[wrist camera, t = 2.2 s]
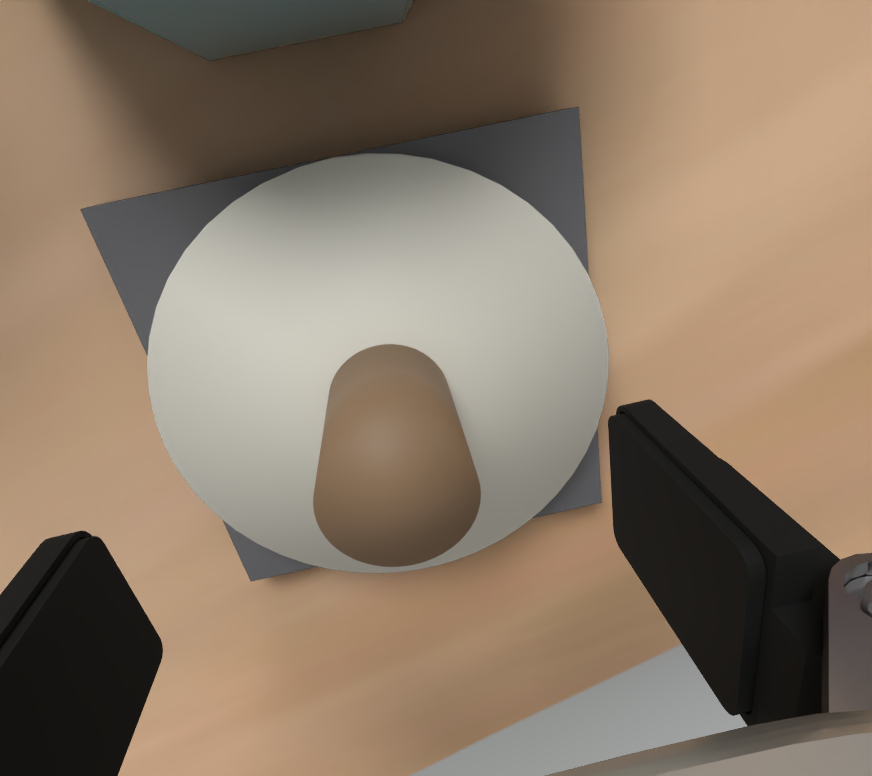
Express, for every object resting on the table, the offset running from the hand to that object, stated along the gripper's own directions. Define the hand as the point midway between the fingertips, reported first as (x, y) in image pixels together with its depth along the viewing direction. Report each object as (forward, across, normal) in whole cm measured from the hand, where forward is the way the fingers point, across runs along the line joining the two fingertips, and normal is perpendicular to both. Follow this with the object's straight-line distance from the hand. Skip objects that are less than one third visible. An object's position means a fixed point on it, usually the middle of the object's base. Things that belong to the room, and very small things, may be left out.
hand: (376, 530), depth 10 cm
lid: (+6, -1, 0) cm, 6 cm away
